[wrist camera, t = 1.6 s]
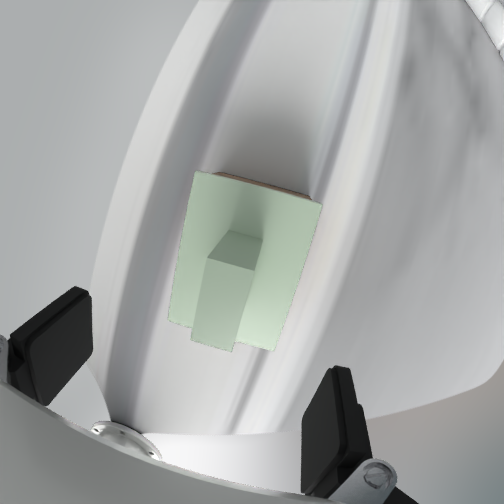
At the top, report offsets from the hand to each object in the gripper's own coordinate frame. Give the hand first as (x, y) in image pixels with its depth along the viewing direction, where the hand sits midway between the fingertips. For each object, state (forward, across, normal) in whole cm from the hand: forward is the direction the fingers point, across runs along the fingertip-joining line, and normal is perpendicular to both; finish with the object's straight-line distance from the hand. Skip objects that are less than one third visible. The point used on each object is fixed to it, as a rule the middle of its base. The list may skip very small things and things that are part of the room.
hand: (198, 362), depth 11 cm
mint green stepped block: (+13, 0, +1) cm, 13 cm away
